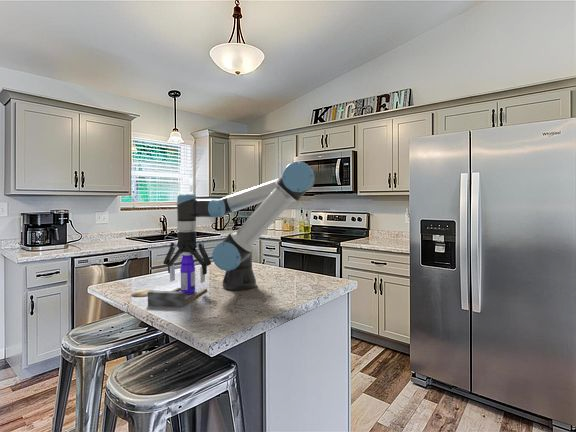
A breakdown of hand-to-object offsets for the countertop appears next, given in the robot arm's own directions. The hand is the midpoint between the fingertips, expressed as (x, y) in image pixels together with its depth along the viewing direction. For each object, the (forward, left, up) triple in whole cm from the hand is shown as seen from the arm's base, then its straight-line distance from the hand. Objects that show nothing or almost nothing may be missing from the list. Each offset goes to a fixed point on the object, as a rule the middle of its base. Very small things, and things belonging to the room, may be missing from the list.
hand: (187, 281), depth 139 cm
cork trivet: (+18, +4, -5) cm, 19 cm away
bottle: (0, 0, -5) cm, 5 cm away
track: (0, +7, -5) cm, 9 cm away
